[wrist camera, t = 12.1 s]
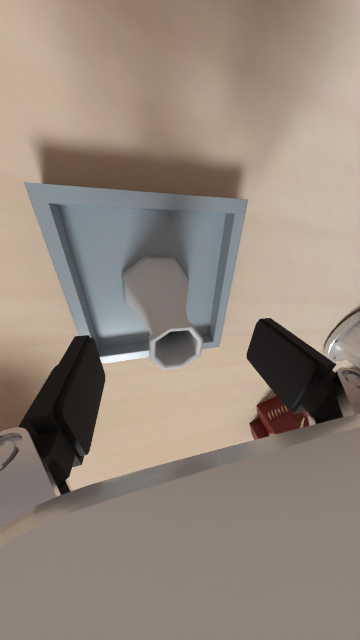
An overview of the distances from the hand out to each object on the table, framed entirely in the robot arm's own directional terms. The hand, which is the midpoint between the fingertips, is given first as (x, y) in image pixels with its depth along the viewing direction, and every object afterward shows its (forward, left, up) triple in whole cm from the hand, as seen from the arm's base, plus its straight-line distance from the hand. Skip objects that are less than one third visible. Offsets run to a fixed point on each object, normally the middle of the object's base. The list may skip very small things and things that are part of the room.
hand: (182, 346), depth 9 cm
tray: (+1, 0, -11) cm, 11 cm away
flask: (0, 0, -10) cm, 10 cm away
